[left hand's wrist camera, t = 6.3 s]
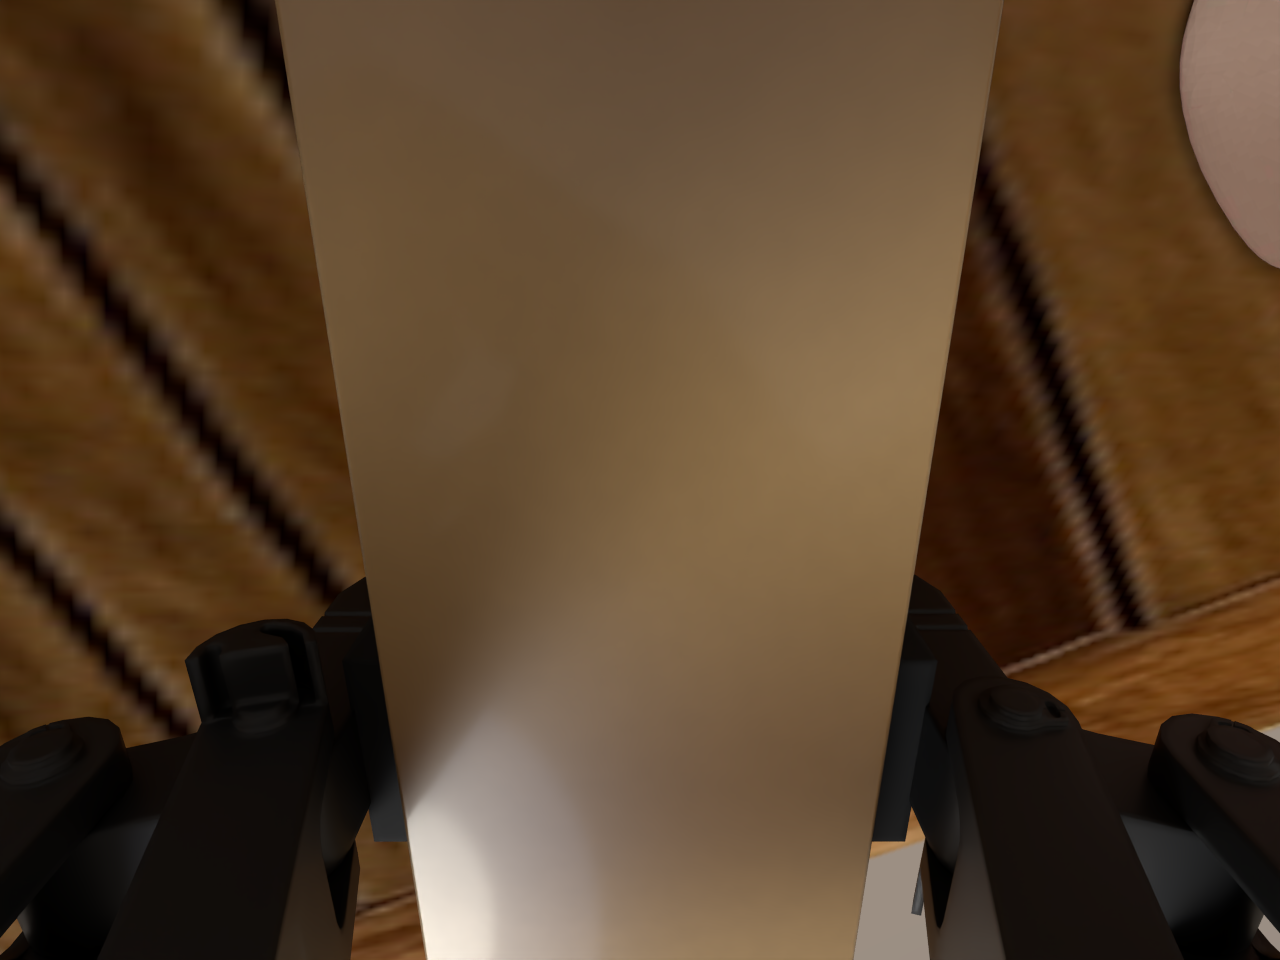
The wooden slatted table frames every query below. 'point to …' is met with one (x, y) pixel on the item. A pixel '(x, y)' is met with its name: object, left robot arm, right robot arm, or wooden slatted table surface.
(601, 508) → the bar
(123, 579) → the wooden slatted table surface
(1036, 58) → the wooden slatted table surface
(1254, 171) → the anatomical model
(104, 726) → the left robot arm
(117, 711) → the wooden slatted table surface
